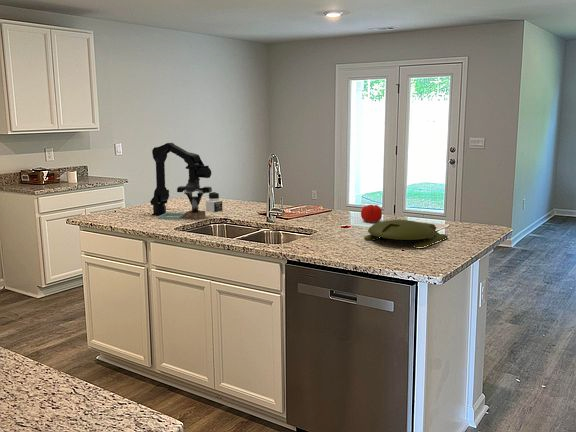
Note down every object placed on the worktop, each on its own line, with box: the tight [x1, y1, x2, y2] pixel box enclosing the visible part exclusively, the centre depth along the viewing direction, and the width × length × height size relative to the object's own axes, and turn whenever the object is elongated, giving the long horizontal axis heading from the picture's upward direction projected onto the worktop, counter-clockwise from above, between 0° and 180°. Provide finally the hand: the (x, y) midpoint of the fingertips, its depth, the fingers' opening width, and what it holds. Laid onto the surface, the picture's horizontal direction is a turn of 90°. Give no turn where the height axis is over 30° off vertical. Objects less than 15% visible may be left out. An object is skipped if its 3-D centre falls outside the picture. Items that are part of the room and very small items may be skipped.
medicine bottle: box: [205, 191, 224, 213], centre depth 342 cm, size 7×7×12 cm
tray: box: [157, 212, 186, 221], centre depth 321 cm, size 12×12×2 cm
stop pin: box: [191, 195, 199, 213], centre depth 321 cm, size 4×4×9 cm
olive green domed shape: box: [364, 219, 448, 247], centre depth 268 cm, size 35×31×10 cm
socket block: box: [184, 209, 206, 220], centre depth 322 cm, size 9×9×4 cm
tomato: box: [360, 204, 383, 223], centre depth 312 cm, size 11×12×9 cm
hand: (194, 204), depth 321 cm, fingers closed on stop pin, 4 cm apart
